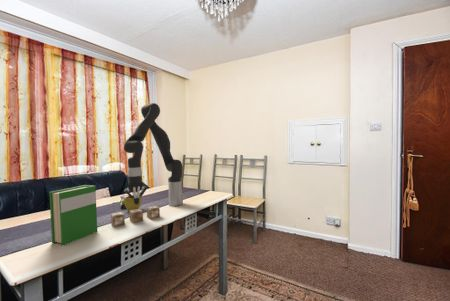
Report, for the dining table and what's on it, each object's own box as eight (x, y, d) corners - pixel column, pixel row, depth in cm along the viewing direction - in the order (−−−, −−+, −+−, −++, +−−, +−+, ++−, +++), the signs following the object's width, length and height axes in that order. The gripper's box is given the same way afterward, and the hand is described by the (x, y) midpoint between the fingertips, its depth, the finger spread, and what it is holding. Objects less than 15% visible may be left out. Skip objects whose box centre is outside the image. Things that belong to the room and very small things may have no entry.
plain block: (140, 218, 138) (139, 208, 138) (143, 221, 133) (142, 210, 133) (129, 220, 135) (129, 210, 134) (132, 223, 130) (131, 212, 129)
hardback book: (62, 245, 102) (60, 193, 101) (51, 243, 105) (49, 192, 104) (97, 231, 119) (95, 185, 118) (87, 229, 121) (85, 185, 120)
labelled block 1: (122, 221, 132) (122, 211, 132) (124, 224, 127) (124, 214, 127) (111, 224, 129) (110, 213, 129) (113, 227, 124) (112, 216, 124)
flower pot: (142, 208, 160) (142, 195, 159) (136, 211, 151) (136, 198, 151) (130, 208, 161) (130, 195, 160) (124, 211, 152) (123, 198, 152)
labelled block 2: (156, 215, 144) (156, 205, 144) (159, 217, 139) (159, 207, 138) (146, 217, 140) (146, 207, 140) (150, 219, 135) (149, 209, 135)
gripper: (144, 173, 140) (146, 200, 140) (121, 175, 132) (123, 205, 133) (148, 174, 133) (149, 203, 134) (124, 177, 126) (126, 207, 127)
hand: (136, 204), depth 133 cm, fingers closed
